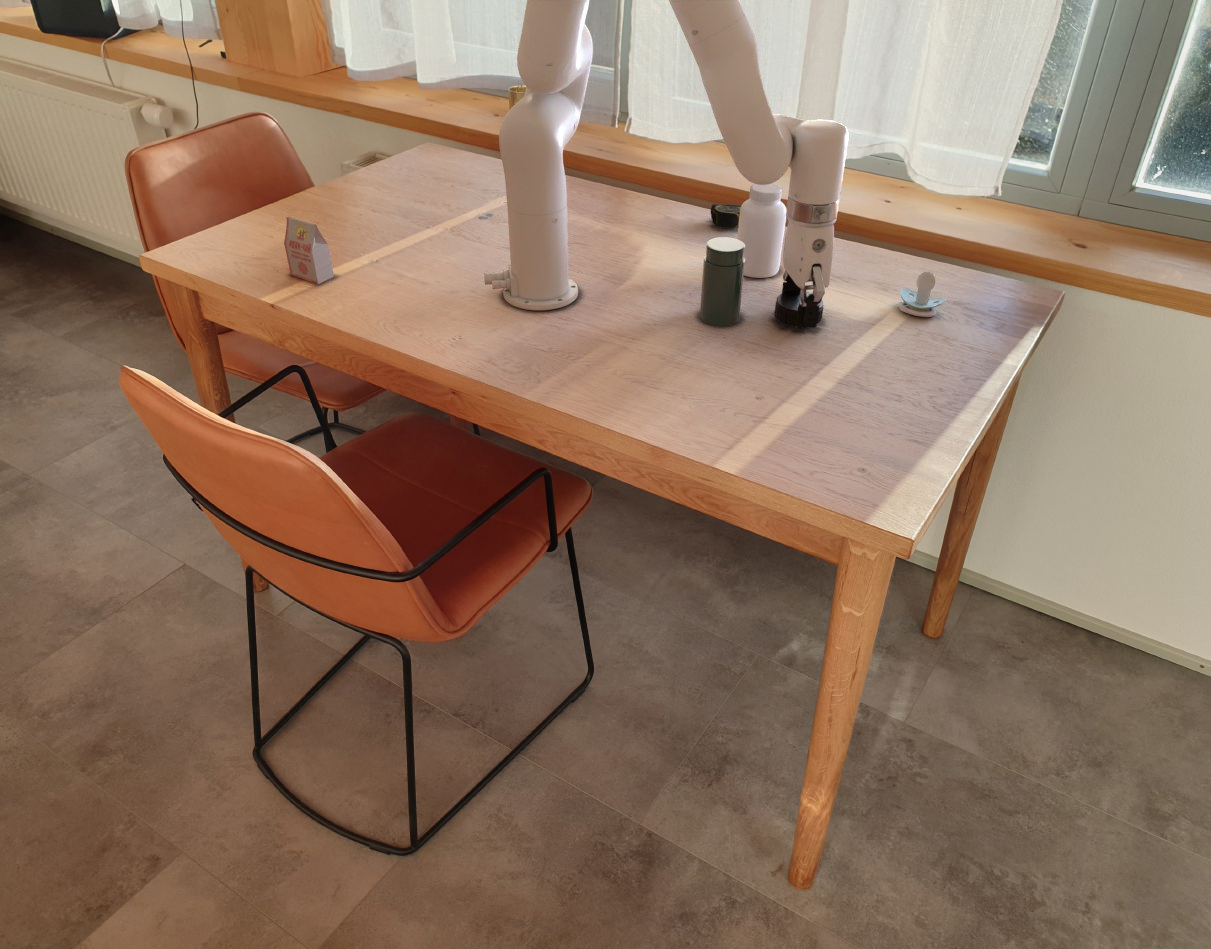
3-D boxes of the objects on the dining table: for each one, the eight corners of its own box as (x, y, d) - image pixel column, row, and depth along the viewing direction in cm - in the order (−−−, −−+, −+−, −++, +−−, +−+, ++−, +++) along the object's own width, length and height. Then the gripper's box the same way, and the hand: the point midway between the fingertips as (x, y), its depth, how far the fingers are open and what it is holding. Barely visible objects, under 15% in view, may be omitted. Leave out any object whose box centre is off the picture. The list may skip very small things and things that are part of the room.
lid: (812, 305, 154) (815, 289, 152) (827, 326, 148) (830, 309, 146) (768, 307, 153) (770, 292, 151) (782, 328, 147) (784, 312, 145)
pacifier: (931, 323, 150) (946, 309, 154) (939, 288, 146) (954, 274, 150) (889, 310, 154) (904, 297, 158) (895, 276, 150) (911, 262, 154)
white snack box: (306, 268, 166) (295, 213, 161) (334, 276, 164) (324, 221, 158) (290, 275, 164) (279, 220, 158) (318, 284, 161) (307, 228, 155)
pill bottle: (778, 281, 163) (788, 196, 154) (732, 277, 164) (739, 193, 155) (780, 263, 169) (790, 180, 160) (736, 259, 170) (743, 177, 161)
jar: (704, 327, 149) (710, 253, 141) (695, 309, 154) (700, 237, 146) (743, 324, 149) (751, 251, 142) (733, 307, 155) (740, 235, 147)
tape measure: (744, 220, 186) (746, 201, 184) (746, 233, 180) (748, 214, 178) (709, 219, 186) (711, 200, 184) (711, 232, 181) (712, 213, 178)
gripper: (857, 229, 133) (838, 339, 144) (817, 187, 147) (803, 291, 158) (806, 231, 132) (791, 343, 143) (771, 190, 146) (760, 294, 157)
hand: (797, 315), depth 150 cm, fingers closed on lid, 7 cm apart
